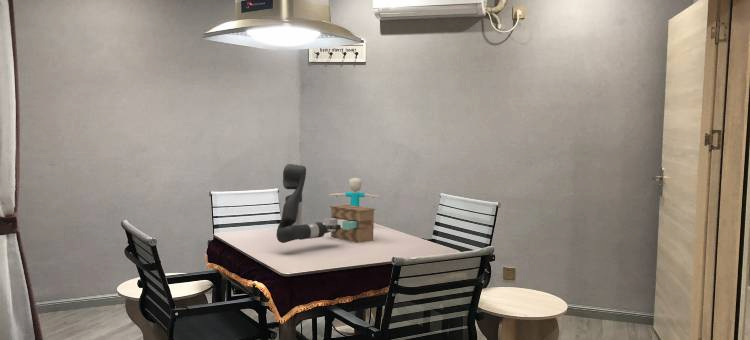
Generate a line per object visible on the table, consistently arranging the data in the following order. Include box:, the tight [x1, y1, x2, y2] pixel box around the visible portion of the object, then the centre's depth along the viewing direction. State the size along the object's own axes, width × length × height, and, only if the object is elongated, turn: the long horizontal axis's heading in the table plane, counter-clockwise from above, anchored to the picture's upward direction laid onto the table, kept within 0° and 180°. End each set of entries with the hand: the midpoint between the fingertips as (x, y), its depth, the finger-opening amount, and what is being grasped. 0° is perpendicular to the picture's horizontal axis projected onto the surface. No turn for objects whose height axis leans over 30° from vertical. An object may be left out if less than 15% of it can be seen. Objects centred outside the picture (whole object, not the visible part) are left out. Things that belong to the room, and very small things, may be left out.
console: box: [329, 204, 376, 244], centre depth 351 cm, size 23×11×17 cm, turn 46°
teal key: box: [343, 221, 358, 230], centre depth 341 cm, size 4×9×4 cm, turn 136°
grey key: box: [323, 217, 339, 225], centre depth 351 cm, size 4×9×4 cm, turn 136°
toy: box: [328, 177, 382, 207], centre depth 385 cm, size 30×9×30 cm, turn 84°
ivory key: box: [338, 219, 348, 228], centre depth 348 cm, size 4×9×4 cm, turn 136°
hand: (339, 226), depth 335 cm, fingers closed
